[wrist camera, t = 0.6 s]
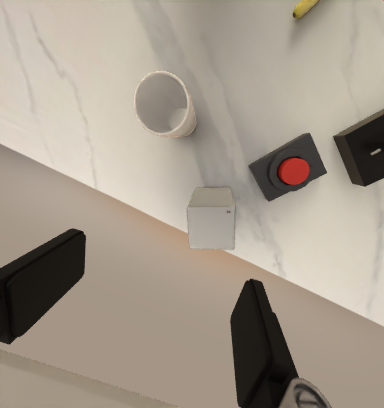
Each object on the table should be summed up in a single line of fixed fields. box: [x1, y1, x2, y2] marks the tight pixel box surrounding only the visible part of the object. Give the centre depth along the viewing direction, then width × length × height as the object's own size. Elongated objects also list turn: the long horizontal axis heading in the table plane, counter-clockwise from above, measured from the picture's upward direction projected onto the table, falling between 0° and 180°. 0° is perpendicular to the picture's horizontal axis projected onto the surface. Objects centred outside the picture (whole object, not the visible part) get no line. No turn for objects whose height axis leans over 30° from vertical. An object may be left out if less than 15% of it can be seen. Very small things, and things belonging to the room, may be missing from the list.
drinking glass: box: [134, 71, 196, 138], centre depth 27 cm, size 7×7×15 cm
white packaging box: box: [187, 187, 236, 250], centre depth 33 cm, size 7×7×13 cm
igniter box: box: [248, 133, 327, 202], centre depth 33 cm, size 11×8×4 cm
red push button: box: [278, 158, 309, 185], centre depth 30 cm, size 4×4×2 cm
